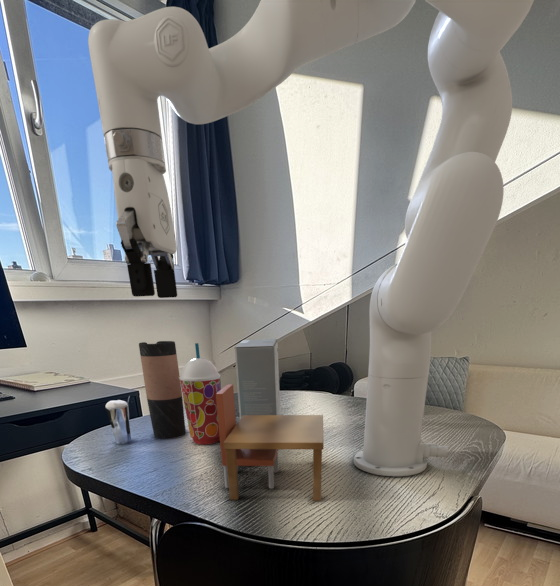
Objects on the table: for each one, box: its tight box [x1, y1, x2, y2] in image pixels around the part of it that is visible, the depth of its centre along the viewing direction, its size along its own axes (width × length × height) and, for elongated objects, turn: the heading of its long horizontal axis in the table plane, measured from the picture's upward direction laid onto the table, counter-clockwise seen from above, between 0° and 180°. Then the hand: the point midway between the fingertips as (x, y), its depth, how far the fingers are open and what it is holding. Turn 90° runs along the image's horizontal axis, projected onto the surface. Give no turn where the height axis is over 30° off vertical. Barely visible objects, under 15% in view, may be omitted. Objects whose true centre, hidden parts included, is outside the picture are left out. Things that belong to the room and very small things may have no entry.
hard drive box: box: [234, 338, 282, 420], centre depth 86 cm, size 16×8×20 cm, turn 178°
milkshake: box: [105, 395, 132, 445], centre depth 88 cm, size 5×5×10 cm
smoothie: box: [179, 342, 222, 445], centre depth 85 cm, size 8×8×20 cm
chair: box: [216, 383, 279, 489], centre depth 65 cm, size 8×8×15 cm
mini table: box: [224, 414, 325, 502], centre depth 66 cm, size 14×16×9 cm
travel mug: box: [138, 340, 186, 440], centre depth 91 cm, size 8×8×20 cm
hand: (156, 296), depth 63 cm, fingers open, 9 cm apart
